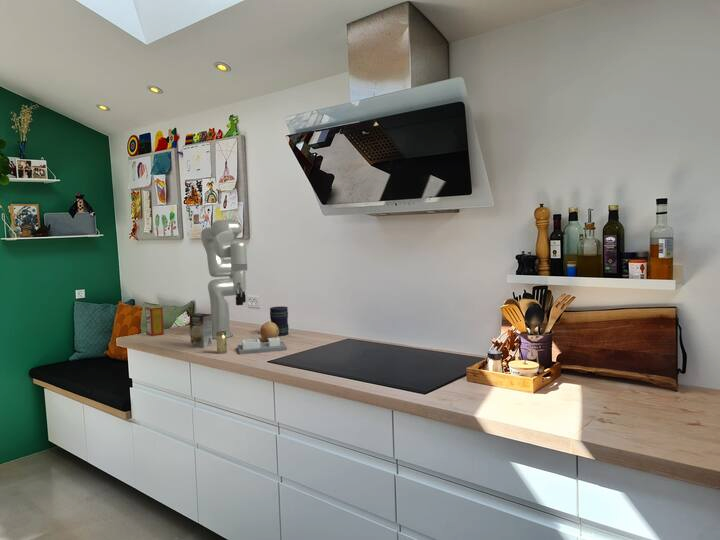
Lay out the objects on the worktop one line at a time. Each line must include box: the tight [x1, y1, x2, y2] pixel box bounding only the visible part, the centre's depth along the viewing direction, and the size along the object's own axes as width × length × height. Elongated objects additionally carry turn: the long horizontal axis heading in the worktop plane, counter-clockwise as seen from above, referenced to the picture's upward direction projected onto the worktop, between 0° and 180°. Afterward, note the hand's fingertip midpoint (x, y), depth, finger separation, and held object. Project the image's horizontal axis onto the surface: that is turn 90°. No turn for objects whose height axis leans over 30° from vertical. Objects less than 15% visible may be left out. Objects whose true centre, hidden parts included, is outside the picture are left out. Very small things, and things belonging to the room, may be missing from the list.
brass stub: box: [216, 331, 228, 355], centre depth 238 cm, size 4×4×10 cm
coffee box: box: [189, 312, 213, 349], centre depth 255 cm, size 9×6×16 cm
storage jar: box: [269, 305, 290, 337], centre depth 278 cm, size 10×10×15 cm
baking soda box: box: [144, 305, 165, 337], centre depth 289 cm, size 10×6×16 cm
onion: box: [259, 321, 279, 342], centre depth 263 cm, size 10×10×10 cm
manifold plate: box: [237, 336, 288, 355], centre depth 244 cm, size 14×22×4 cm, turn 107°
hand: (241, 303), depth 241 cm, fingers open, 9 cm apart
